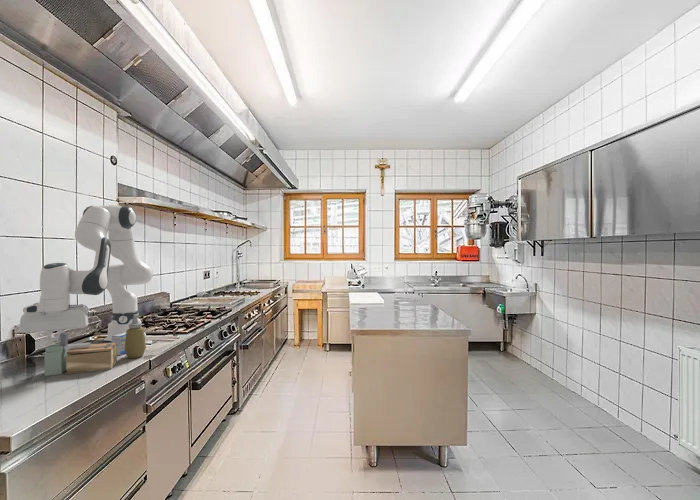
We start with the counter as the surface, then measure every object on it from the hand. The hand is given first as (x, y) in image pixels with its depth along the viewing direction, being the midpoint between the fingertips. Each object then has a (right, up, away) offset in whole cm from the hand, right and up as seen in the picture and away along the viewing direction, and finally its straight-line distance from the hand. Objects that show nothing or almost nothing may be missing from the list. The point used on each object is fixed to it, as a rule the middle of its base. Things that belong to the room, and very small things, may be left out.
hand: (55, 341), depth 133 cm
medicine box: (+10, -12, +25) cm, 29 cm away
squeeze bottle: (+19, -12, +19) cm, 29 cm away
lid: (+11, -4, +5) cm, 12 cm away
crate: (+11, -12, +5) cm, 16 cm away
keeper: (0, -12, 0) cm, 12 cm away
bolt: (+6, -3, +2) cm, 7 cm away
